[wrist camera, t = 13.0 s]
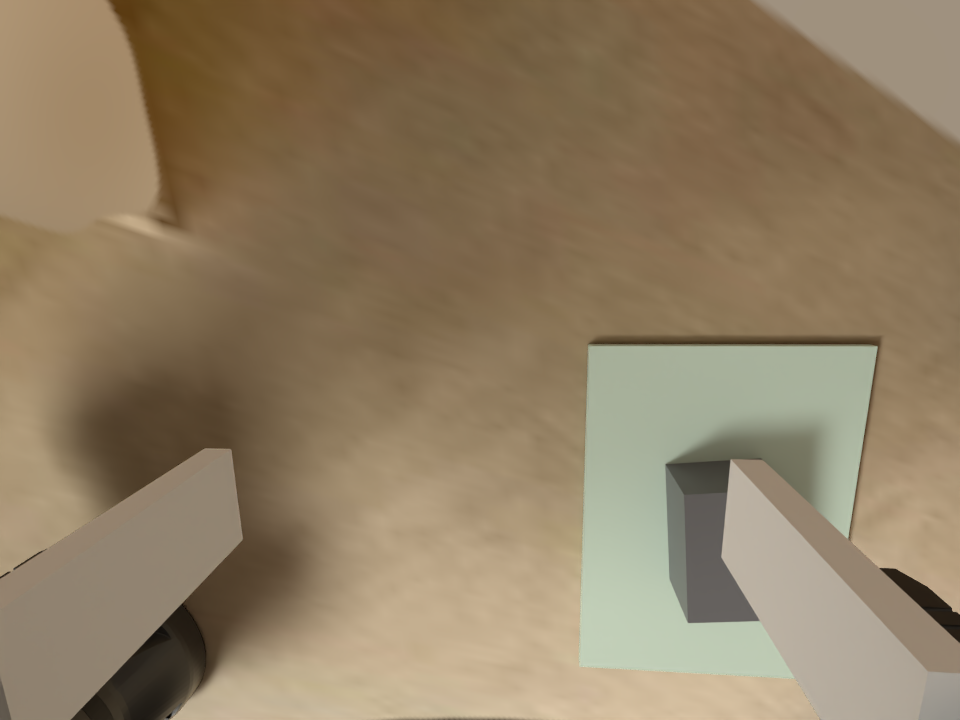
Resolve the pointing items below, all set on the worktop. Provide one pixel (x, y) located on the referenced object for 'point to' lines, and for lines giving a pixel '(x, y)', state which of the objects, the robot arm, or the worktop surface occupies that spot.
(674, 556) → the dark gray card box
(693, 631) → the rubber mat
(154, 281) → the worktop surface
